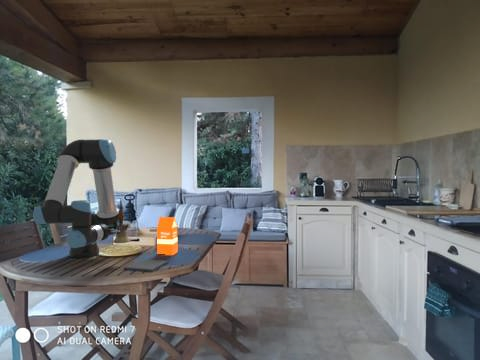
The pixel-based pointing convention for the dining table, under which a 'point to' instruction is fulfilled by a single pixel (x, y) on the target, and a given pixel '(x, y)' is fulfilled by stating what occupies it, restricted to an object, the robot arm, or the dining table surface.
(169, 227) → the orange juice
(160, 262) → the place mat
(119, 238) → the hand bell
